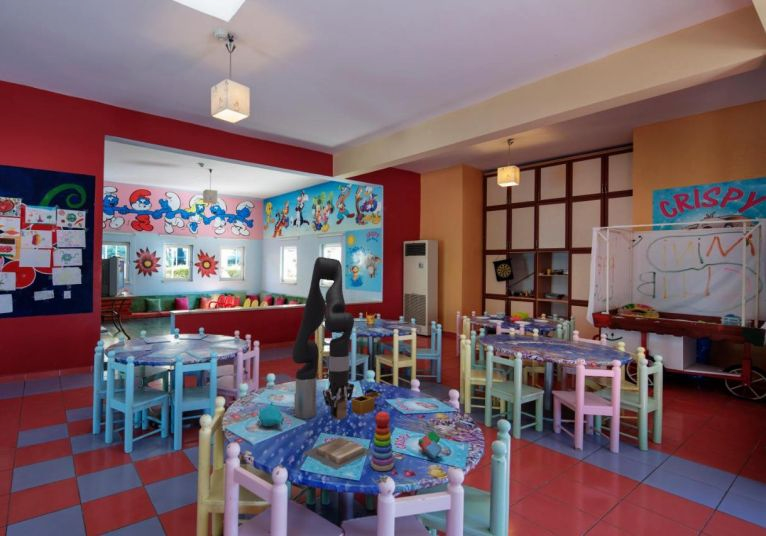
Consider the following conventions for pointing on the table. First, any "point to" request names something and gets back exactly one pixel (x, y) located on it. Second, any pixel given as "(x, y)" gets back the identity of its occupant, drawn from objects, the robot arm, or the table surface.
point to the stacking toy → (382, 444)
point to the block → (341, 409)
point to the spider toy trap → (365, 402)
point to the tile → (340, 450)
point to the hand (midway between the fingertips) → (338, 414)
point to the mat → (328, 462)
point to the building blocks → (430, 444)
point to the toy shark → (270, 416)
